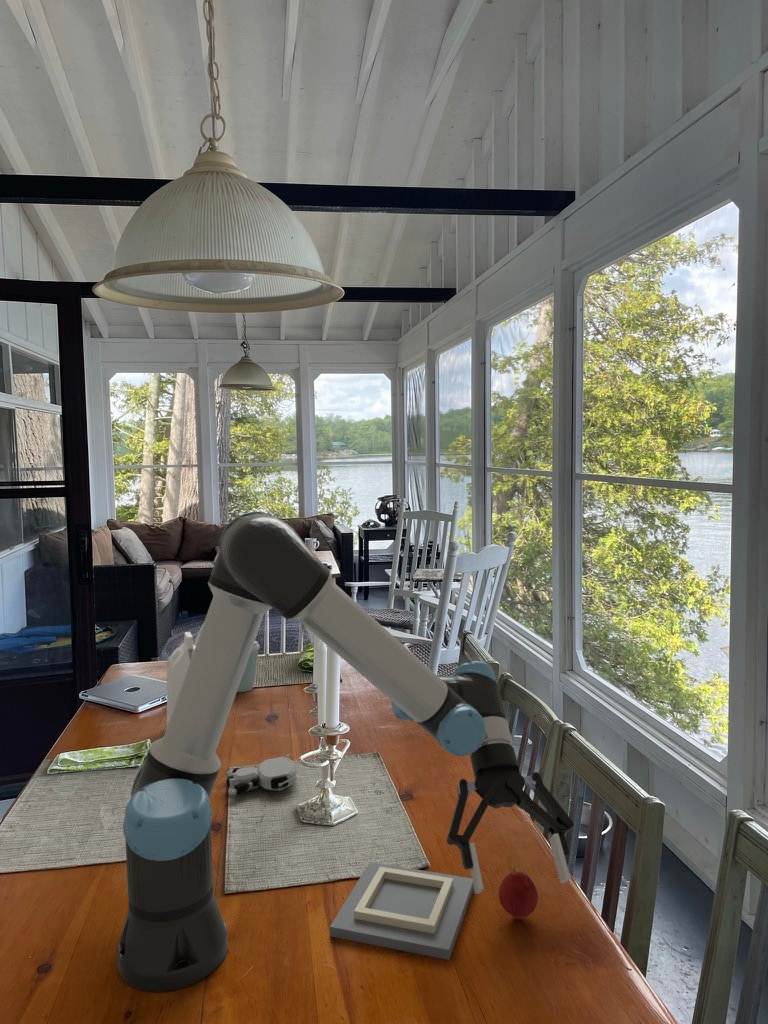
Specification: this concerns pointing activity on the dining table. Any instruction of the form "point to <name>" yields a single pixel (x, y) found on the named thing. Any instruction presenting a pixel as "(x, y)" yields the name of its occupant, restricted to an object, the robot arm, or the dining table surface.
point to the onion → (518, 894)
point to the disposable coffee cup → (249, 670)
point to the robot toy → (263, 776)
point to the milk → (178, 671)
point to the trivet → (405, 910)
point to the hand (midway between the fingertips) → (523, 886)
